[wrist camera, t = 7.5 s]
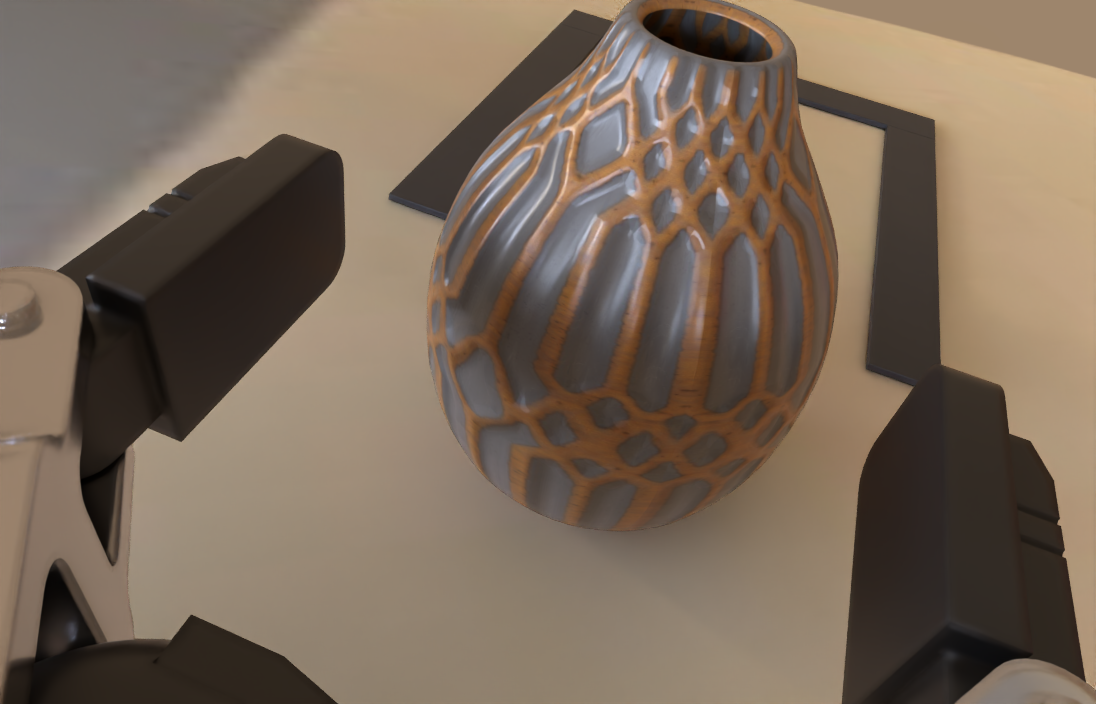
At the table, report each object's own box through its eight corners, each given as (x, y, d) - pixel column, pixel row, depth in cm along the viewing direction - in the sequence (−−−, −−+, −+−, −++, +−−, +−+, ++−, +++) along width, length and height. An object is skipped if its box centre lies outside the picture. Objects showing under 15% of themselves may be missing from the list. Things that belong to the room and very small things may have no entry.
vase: (692, 328, 20) (837, -40, 14) (794, 580, 15) (1087, 185, 9) (412, 325, 18) (434, -91, 12) (426, 605, 13) (476, 148, 7)
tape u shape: (388, 200, 21) (389, 193, 21) (573, 14, 33) (574, 9, 33) (937, 394, 19) (941, 388, 19) (932, 124, 31) (934, 119, 31)
